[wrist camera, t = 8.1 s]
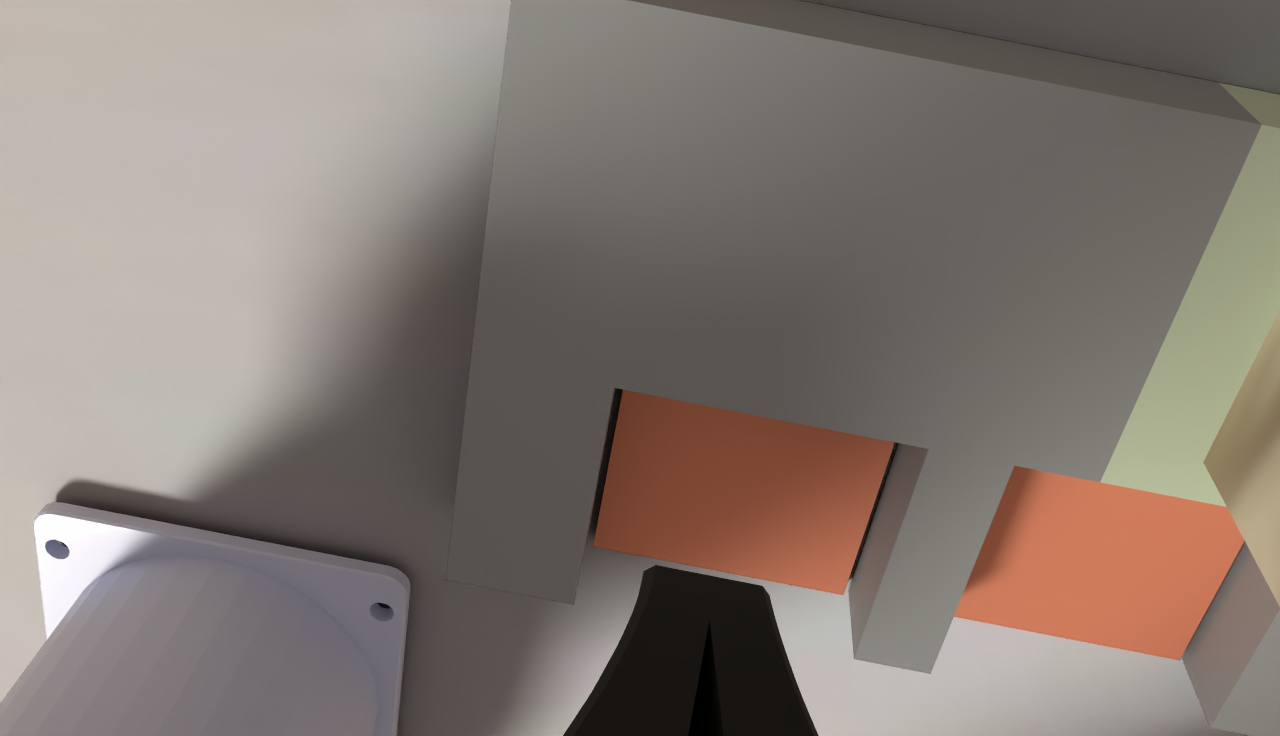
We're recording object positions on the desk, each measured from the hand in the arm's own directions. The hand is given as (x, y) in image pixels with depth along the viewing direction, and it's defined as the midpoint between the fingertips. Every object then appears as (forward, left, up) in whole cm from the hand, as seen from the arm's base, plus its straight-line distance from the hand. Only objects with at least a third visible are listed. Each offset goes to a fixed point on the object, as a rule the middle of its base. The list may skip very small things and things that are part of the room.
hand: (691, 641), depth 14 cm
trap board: (-1, -5, -9) cm, 11 cm away
